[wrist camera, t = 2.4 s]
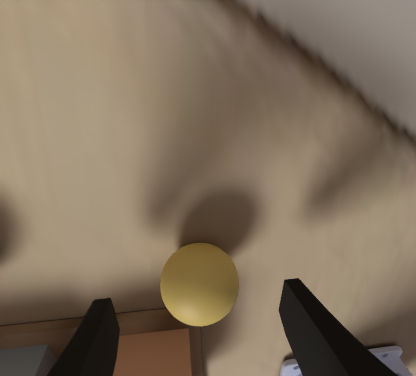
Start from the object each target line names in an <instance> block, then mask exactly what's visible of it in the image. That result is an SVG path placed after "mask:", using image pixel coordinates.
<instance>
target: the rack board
mask: <svg viewBox="0 0 416 376" xmlns="http://www.w3.org/2000/svg"><path fill="white" fill-rule="evenodd" d="M116 317H117V321H118V324H119V327H120V333H119V336H125V335H133V334H142V333H151V332H159V331H168V330H176V329H185V328H189V337H190V350H191V362H192V375H193V376H203V373H202V350H201V327H200V326H191V325H188V324H185V323H183V322H181V321H179V320H178V319H176V318H175V317H174V316H173V315H172V314H171V313H170V312H169V310H168V309H167V308H166V309H157V310H148V311H138V312H129V313H120V314H116ZM83 318H84V317H83ZM83 318H73V319H64V320H55V321H46V322H36V323H27V324H18V325H8V326H0V350H3V349H12V348H21V347H29V346H38V345H47V344H48V345H49V347H50V349H51V351H52V353H53V355H54V356H55V358H56V360H57V359H58V358H59V356H60V355H61V353H62V352H63V350H64V349H65V347H66V346H67V344H68V342H69V341H70V339H71V338H72V336H73V335H74V333H75V331H76V330H77V328H78V326H79V325H80V323H81V321H82V320H83Z"/></svg>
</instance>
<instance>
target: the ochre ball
mask: <svg viewBox="0 0 416 376" xmlns="http://www.w3.org/2000/svg"><path fill="white" fill-rule="evenodd" d="M160 289H161V295H162V299H163V301H164V304H165V306H166V307H167V309H168V310H169V312H170V313H171V314H172V315H173V316H174V317H175V318H176V319H178V320H179V321H181V322H183V323H185V324H188V325H191V326H207V325H210V324H213V323H216V322H218V321H219V320H221V319H222V318H223V317H225V316H226V315H227V314H228V312H229V311H230V310H231V309H232V307H233V305H234V303H235V301H236V298H237V295H238V289H239V278H238V273H237V270H236V267H235V265H234V263H233V261H232V260H231V258H230V257H229V256H228V255H227V254H226V253H225V252H224V251H223V250H221V249H220V248H218V247H216V246H214V245H211V244H208V243H193V244H189V245H186V246H184V247H182V248H180V249H179V250H177V251H176V252H175V253H174V254H173V255H172V256H171V257H170V258H169V259H168V261H167V262H166V264H165V266H164V268H163V271H162V275H161V281H160Z"/></svg>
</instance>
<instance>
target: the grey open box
mask: <svg viewBox="0 0 416 376" xmlns="http://www.w3.org/2000/svg"><path fill="white" fill-rule="evenodd" d="M56 361H57V360H56V358H55V356H54V355H53V353H52V351H51V349H50V347H49V345H48V344H47V345H38V346H29V347H21V348H12V349H3V350H0V376H46V375H47V374H48V372H49V371H50V370H51V368H52V367H53V365H54V364H55V362H56Z"/></svg>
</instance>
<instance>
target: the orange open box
mask: <svg viewBox="0 0 416 376" xmlns="http://www.w3.org/2000/svg"><path fill="white" fill-rule="evenodd" d="M113 376H193V375H192V362H191V350H190V337H189V328H185V329H176V330H168V331H159V332H151V333H142V334H133V335H125V336H119V343H118V352H117V359H116V364H115V368H114V373H113Z"/></svg>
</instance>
